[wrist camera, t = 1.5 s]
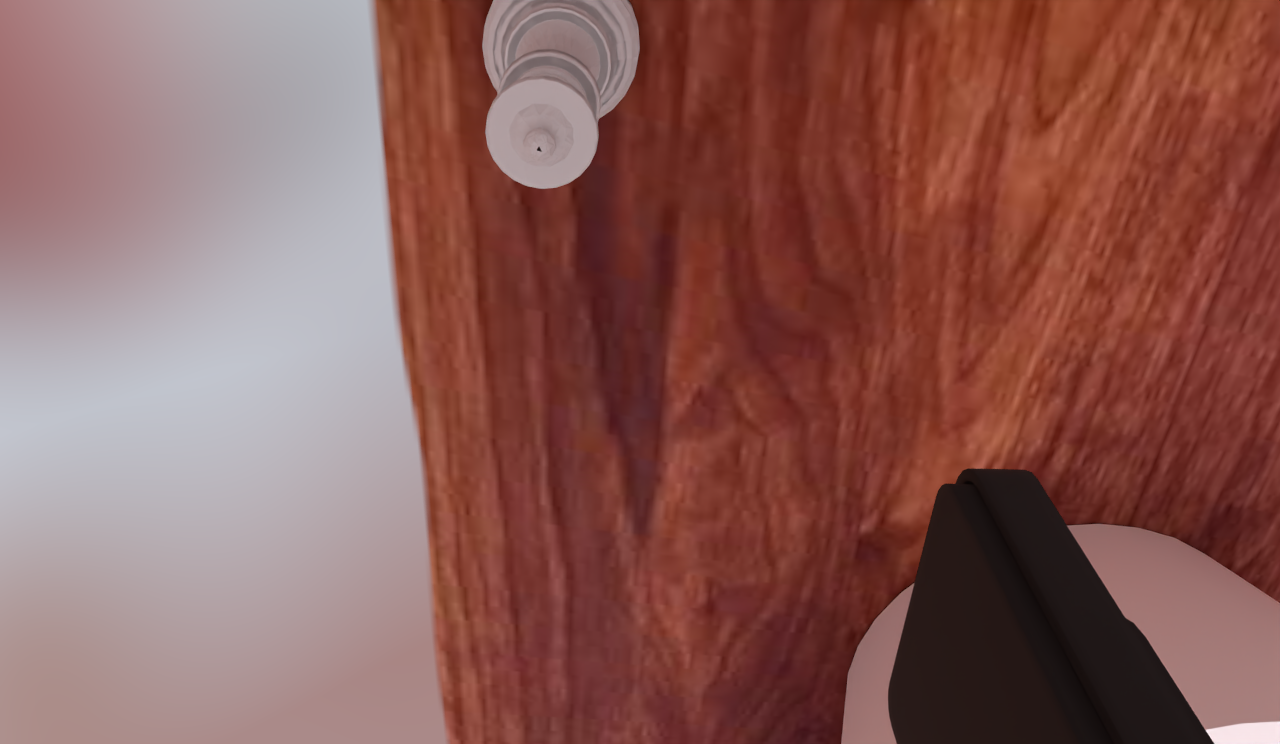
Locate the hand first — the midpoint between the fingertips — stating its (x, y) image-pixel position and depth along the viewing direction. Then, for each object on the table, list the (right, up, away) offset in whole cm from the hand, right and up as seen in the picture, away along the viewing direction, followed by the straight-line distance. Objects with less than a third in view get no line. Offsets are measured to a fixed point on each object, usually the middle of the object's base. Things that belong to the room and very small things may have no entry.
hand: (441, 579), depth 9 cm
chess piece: (0, +12, +19) cm, 22 cm away
